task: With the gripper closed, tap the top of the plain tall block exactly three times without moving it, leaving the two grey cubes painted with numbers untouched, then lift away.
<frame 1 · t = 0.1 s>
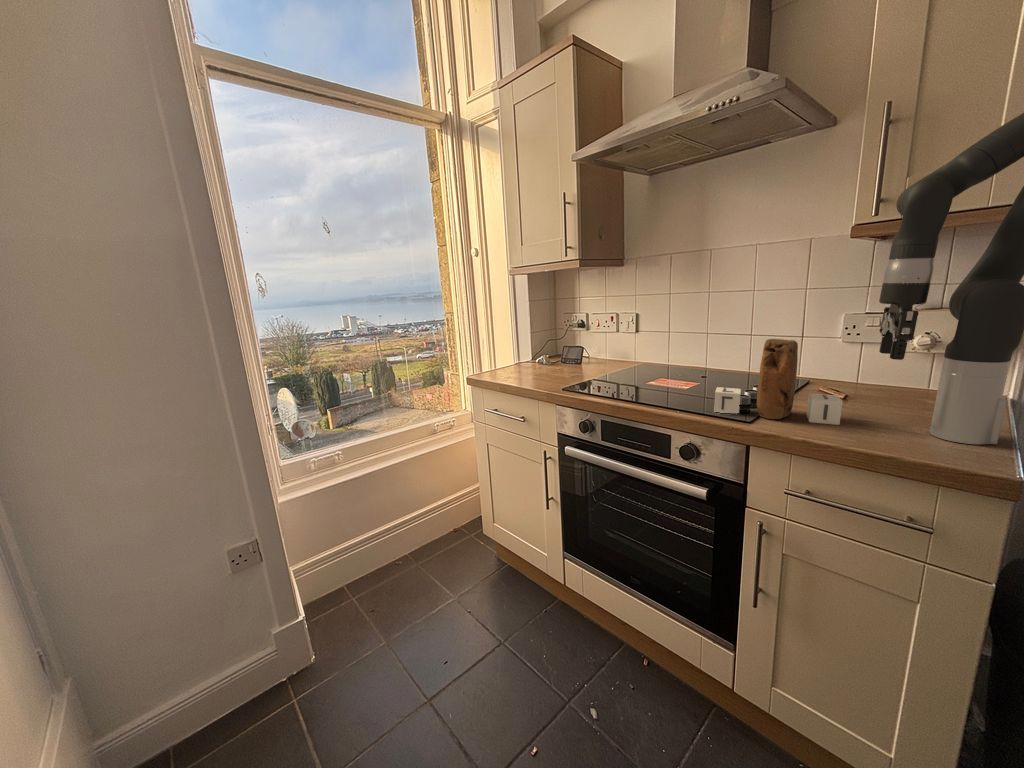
hand: (890, 356, 92), 17 cm above the worktop, tool pointing down, fingers open, 8 cm apart
cube seven: (726, 411, 114), on the worktop
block: (773, 416, 109), on the worktop
cube one: (822, 420, 104), on the worktop
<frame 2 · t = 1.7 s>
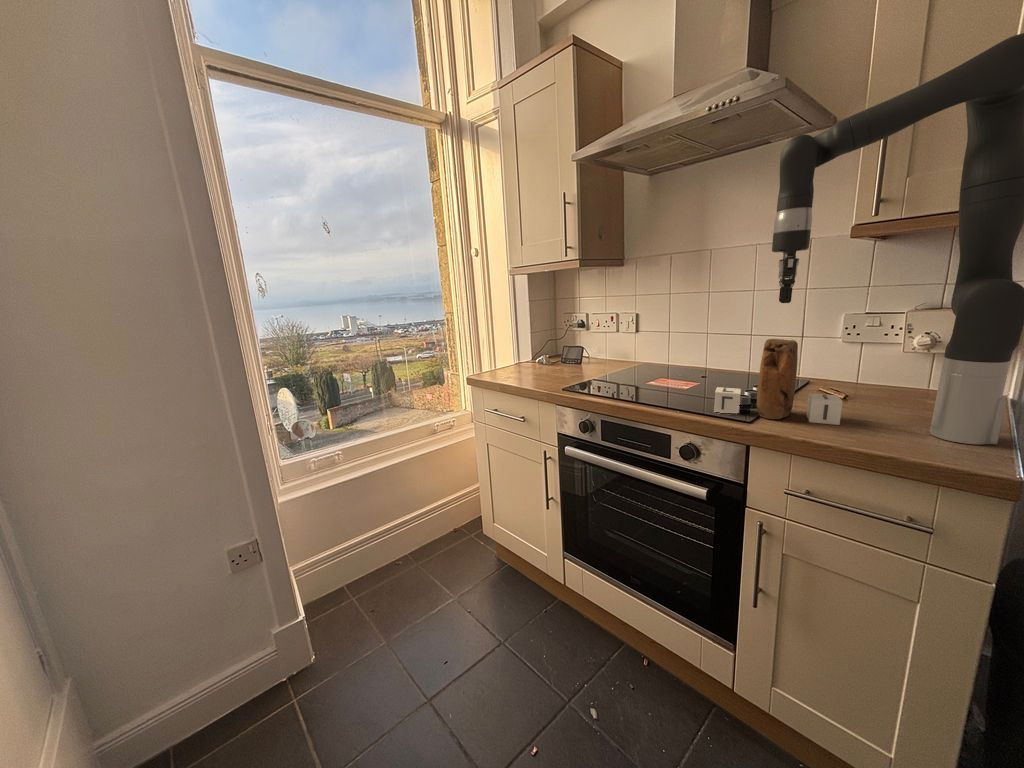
hand: (784, 302, 102), 29 cm above the worktop, tool pointing down, fingers open, 5 cm apart
nothing on the worktop moved.
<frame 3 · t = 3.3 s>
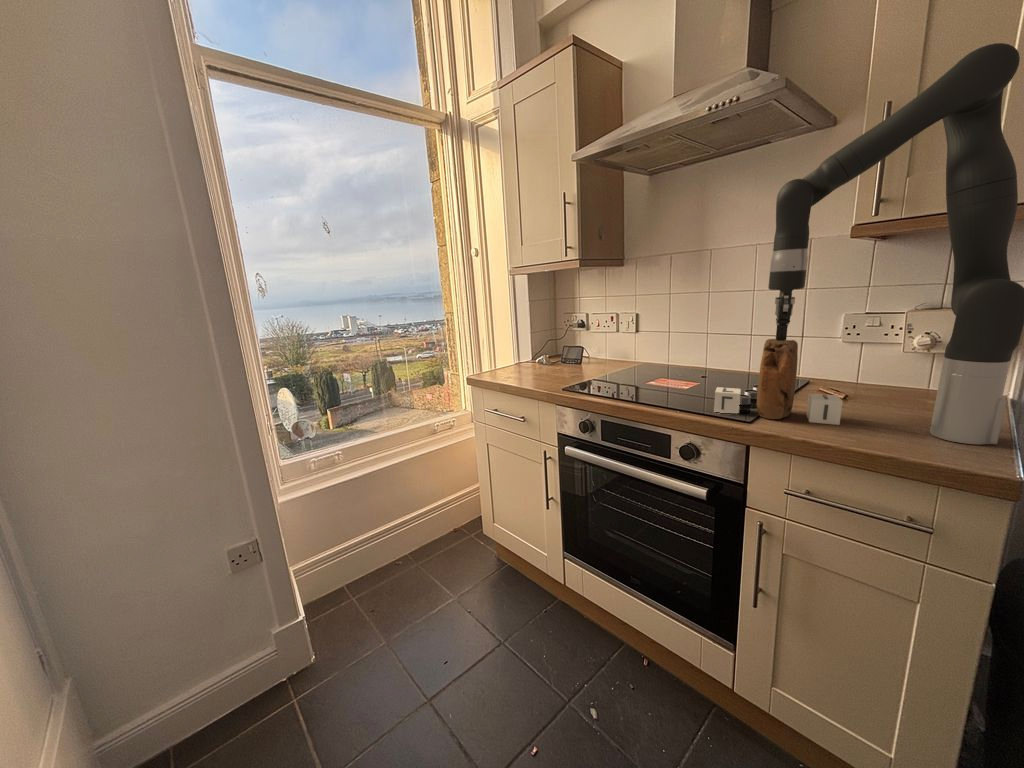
hand: (780, 340, 105), 20 cm above the worktop, tool pointing down, fingers closed
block: (773, 416, 109), on the worktop, touching gripper
everything else where it was.
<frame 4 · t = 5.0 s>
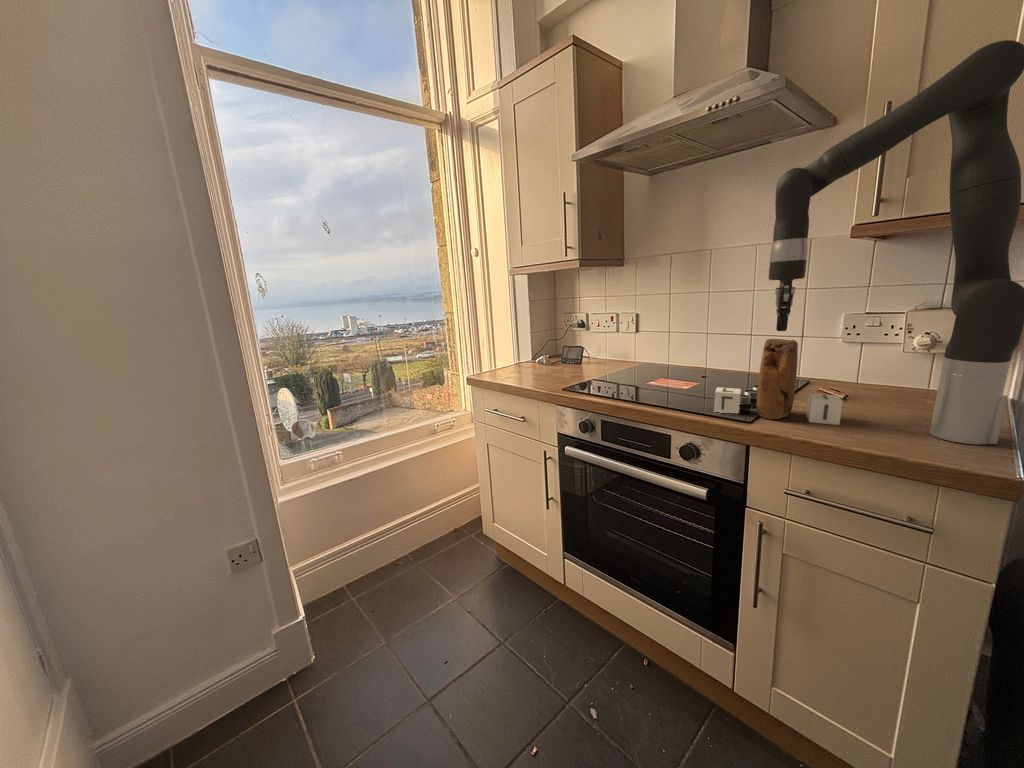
hand: (781, 330, 104), 22 cm above the worktop, tool pointing down, fingers closed
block: (773, 416, 109), on the worktop
everything else where it was.
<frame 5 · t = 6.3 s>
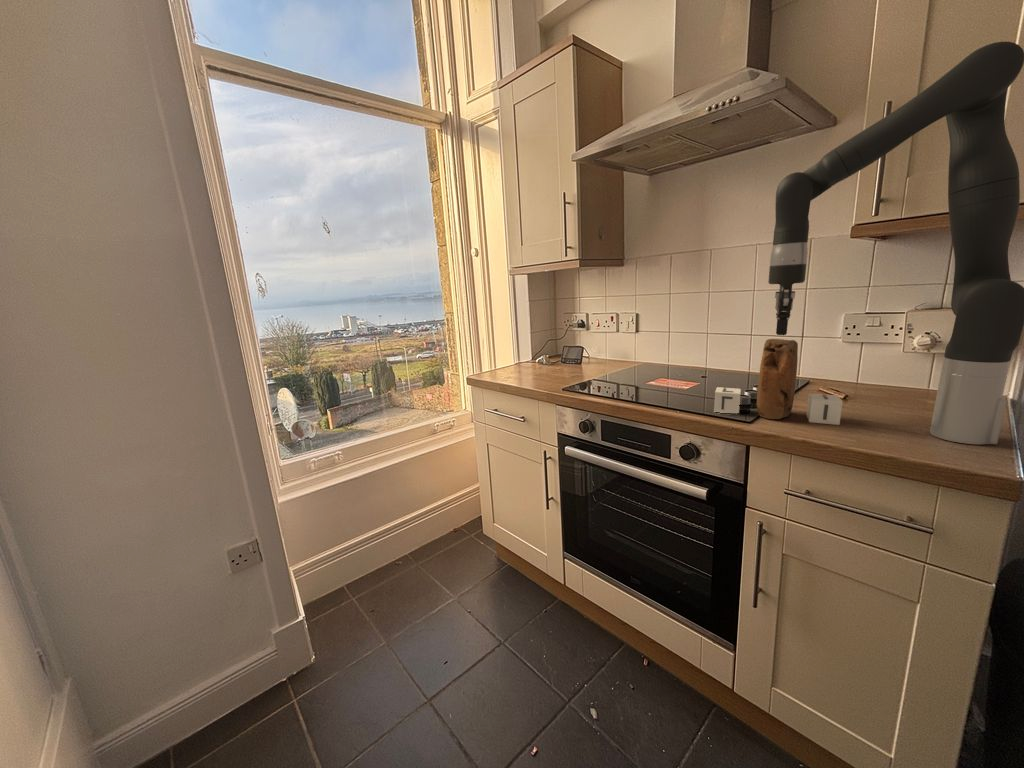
hand: (781, 334, 104), 21 cm above the worktop, tool pointing down, fingers closed
nothing on the worktop moved.
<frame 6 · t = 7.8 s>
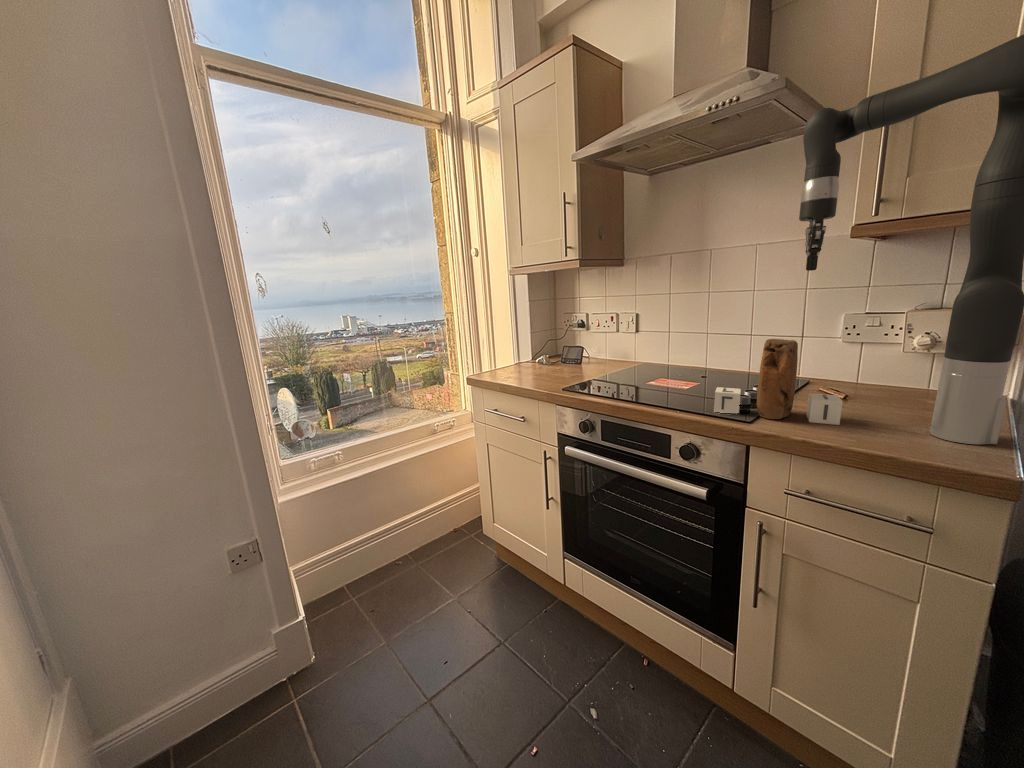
hand: (810, 270, 108), 37 cm above the worktop, tool pointing down, fingers closed
nothing on the worktop moved.
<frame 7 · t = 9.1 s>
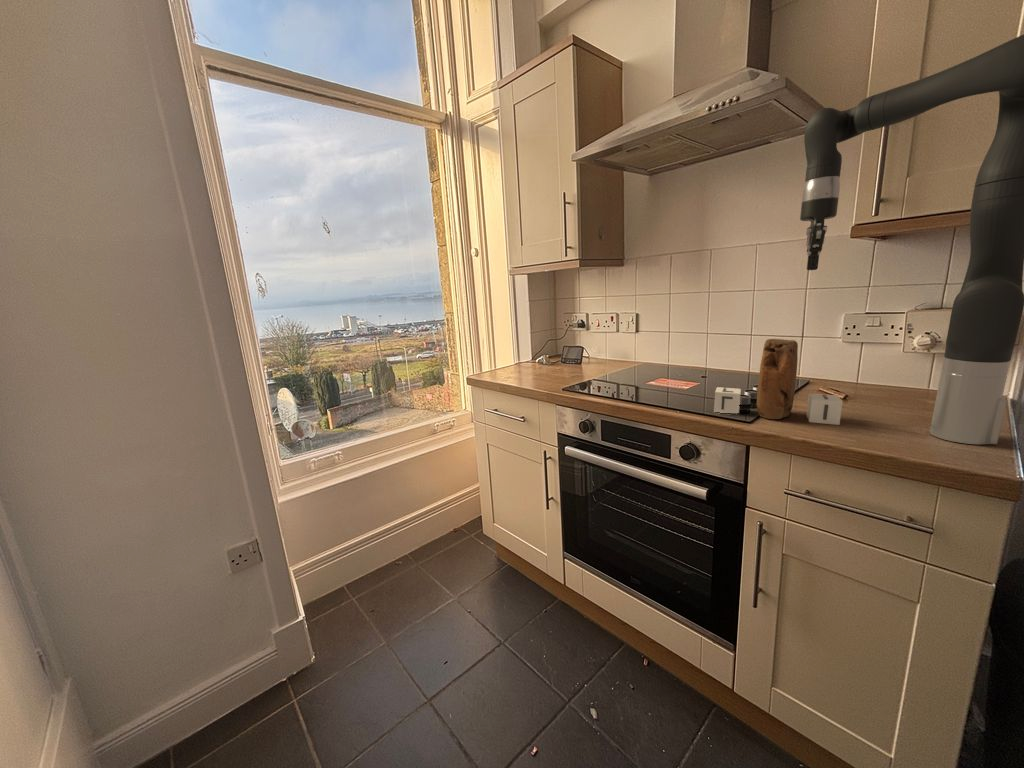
hand: (811, 270, 108), 37 cm above the worktop, tool pointing down, fingers closed
nothing on the worktop moved.
at the end: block moved 0.2 cm from its start; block tilted 0°; cube seven moved 0.1 cm from its start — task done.
